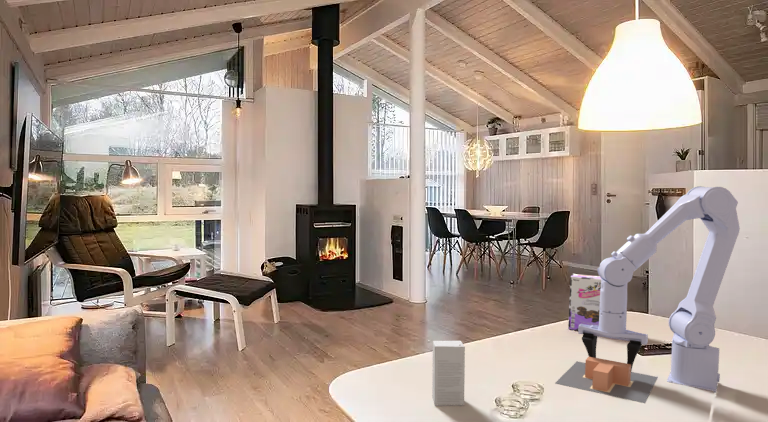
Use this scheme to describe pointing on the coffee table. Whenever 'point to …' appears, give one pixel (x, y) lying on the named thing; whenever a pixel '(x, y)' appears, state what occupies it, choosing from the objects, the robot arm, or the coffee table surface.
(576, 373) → the charcoal mat
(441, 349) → the skincare box
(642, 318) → the coffee table surface
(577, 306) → the candy box
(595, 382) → the rust T block
